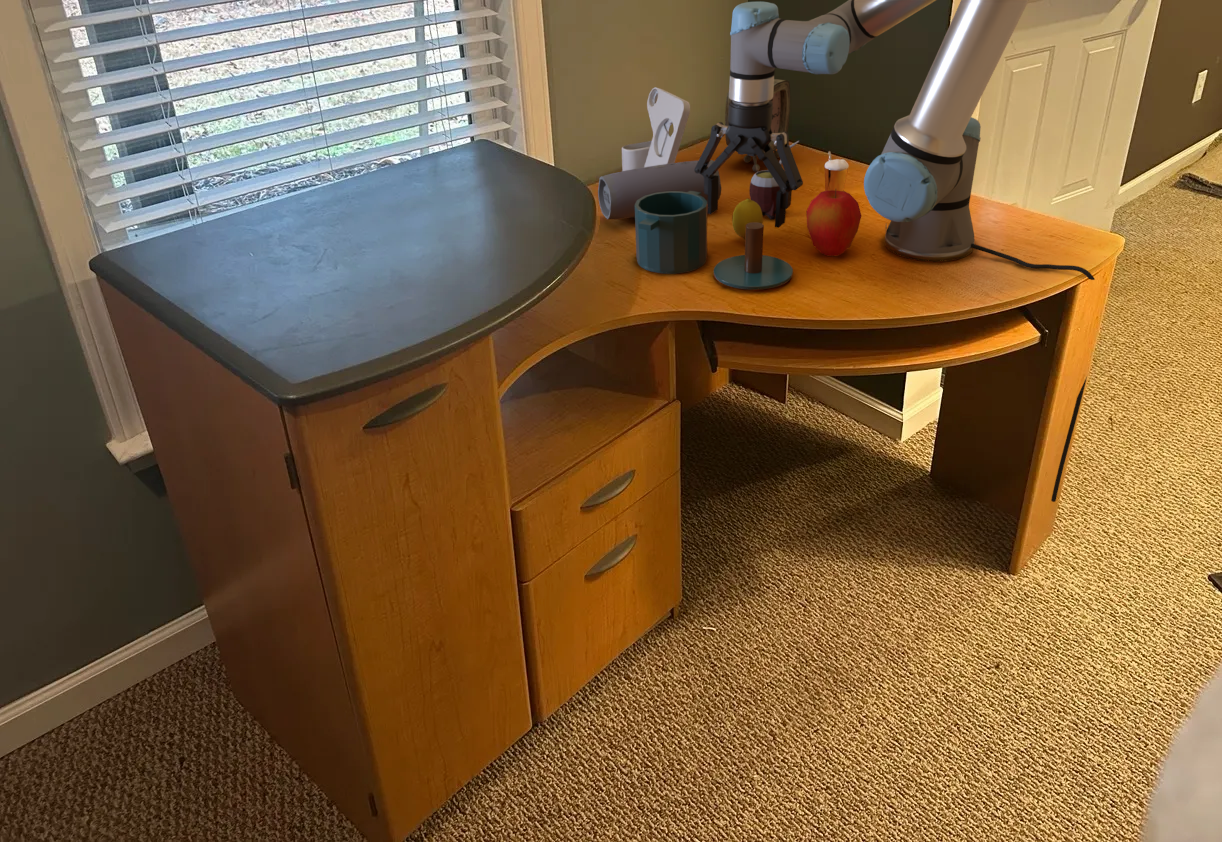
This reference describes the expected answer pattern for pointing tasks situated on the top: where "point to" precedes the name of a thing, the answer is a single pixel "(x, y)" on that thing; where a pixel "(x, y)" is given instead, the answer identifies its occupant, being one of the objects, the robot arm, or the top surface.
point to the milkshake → (835, 174)
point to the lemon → (746, 216)
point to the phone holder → (659, 132)
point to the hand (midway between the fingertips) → (745, 218)
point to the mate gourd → (765, 191)
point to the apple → (833, 221)
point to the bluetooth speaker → (647, 186)
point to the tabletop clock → (778, 115)
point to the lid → (753, 265)
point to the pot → (671, 231)
